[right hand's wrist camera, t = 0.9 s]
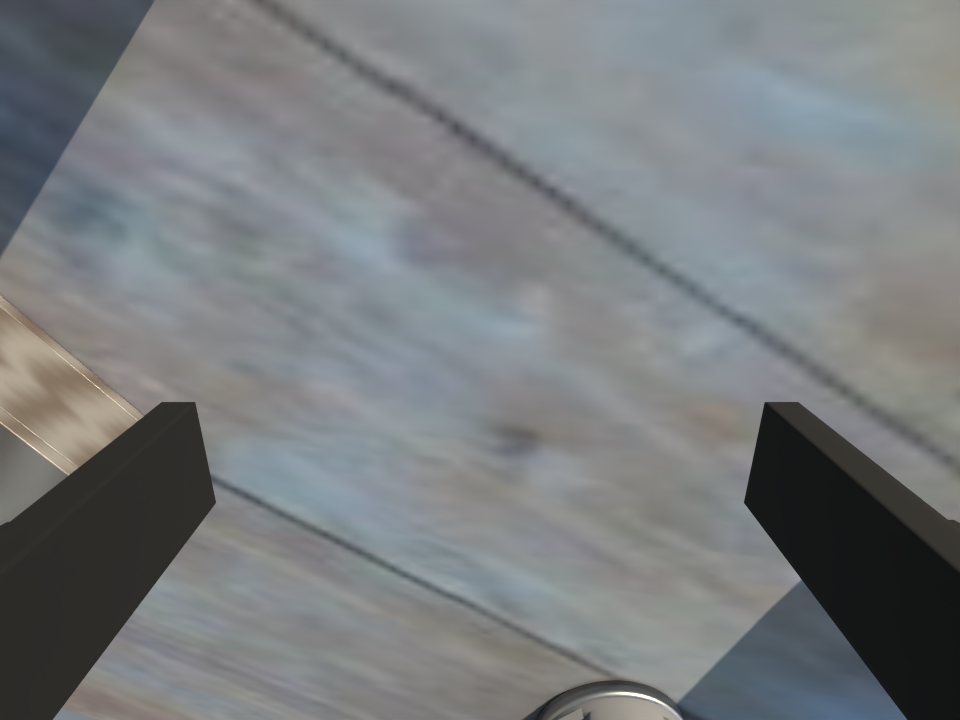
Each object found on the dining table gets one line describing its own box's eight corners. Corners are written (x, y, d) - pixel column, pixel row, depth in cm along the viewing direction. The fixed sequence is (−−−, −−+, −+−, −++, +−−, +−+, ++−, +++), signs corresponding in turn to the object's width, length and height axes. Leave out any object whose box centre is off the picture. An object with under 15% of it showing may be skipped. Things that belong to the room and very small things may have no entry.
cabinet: (-114, 366, 40) (-254, 416, 33) (-31, 268, 38) (-163, 298, 30) (118, 539, 46) (45, 617, 38) (203, 465, 43) (144, 533, 36)
